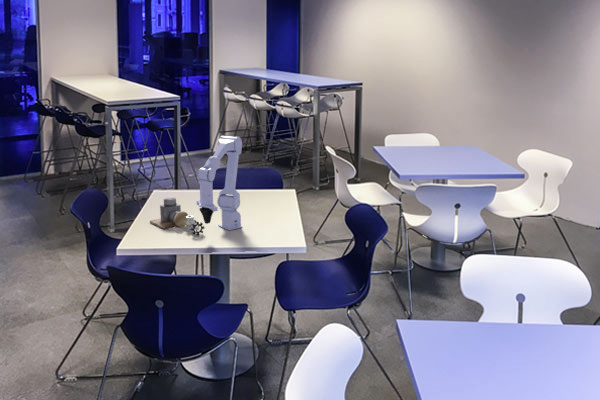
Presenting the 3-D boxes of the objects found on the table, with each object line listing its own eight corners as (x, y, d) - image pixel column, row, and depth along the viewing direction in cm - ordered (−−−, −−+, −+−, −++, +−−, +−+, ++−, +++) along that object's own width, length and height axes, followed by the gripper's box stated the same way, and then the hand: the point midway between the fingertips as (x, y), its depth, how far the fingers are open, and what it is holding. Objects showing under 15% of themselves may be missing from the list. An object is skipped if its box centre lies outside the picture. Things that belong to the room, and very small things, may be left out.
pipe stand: (198, 223, 310) (197, 200, 307) (165, 230, 299) (164, 207, 296) (181, 215, 322) (180, 194, 319) (149, 222, 311) (148, 200, 308)
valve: (182, 229, 301) (191, 236, 292) (181, 216, 300) (191, 223, 290) (195, 227, 305) (204, 234, 295) (194, 214, 303) (204, 220, 293)
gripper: (190, 192, 285) (191, 220, 289) (207, 199, 274) (208, 228, 278) (203, 189, 289) (204, 218, 293) (221, 196, 279) (222, 225, 282)
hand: (207, 223), depth 286 cm, fingers closed
